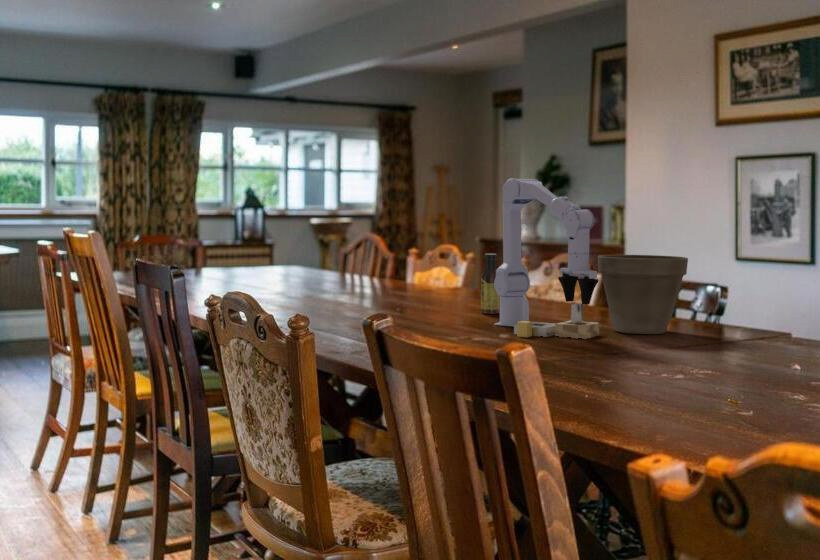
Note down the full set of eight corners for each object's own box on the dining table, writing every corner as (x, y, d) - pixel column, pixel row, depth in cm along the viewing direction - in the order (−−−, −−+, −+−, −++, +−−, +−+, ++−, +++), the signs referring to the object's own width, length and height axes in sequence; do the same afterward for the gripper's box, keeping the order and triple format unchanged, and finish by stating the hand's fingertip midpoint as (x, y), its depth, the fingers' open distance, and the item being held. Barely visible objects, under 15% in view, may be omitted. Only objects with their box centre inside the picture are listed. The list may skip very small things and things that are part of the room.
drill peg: (574, 334, 265) (575, 302, 264) (584, 335, 263) (585, 303, 262) (568, 336, 263) (569, 303, 262) (578, 337, 261) (579, 304, 260)
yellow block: (522, 335, 264) (522, 320, 264) (532, 336, 263) (532, 321, 262) (517, 336, 262) (517, 322, 261) (526, 337, 260) (527, 322, 260)
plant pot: (653, 324, 288) (654, 252, 286) (704, 334, 265) (706, 257, 263) (580, 327, 280) (581, 254, 278) (627, 339, 257) (628, 259, 255)
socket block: (530, 330, 275) (530, 321, 274) (562, 332, 269) (562, 324, 269) (514, 334, 266) (514, 325, 266) (546, 337, 261) (546, 328, 260)
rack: (569, 332, 269) (569, 320, 269) (599, 335, 264) (599, 322, 264) (555, 336, 262) (555, 323, 262) (585, 339, 257) (585, 326, 256)
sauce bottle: (483, 312, 319) (483, 253, 318) (501, 312, 317) (502, 253, 316) (478, 314, 313) (479, 254, 312) (497, 315, 311) (497, 254, 310)
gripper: (551, 252, 266) (550, 300, 267) (582, 255, 253) (581, 306, 254) (572, 251, 269) (571, 299, 270) (603, 254, 256) (602, 304, 257)
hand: (577, 302), depth 262 cm, fingers open, 7 cm apart
